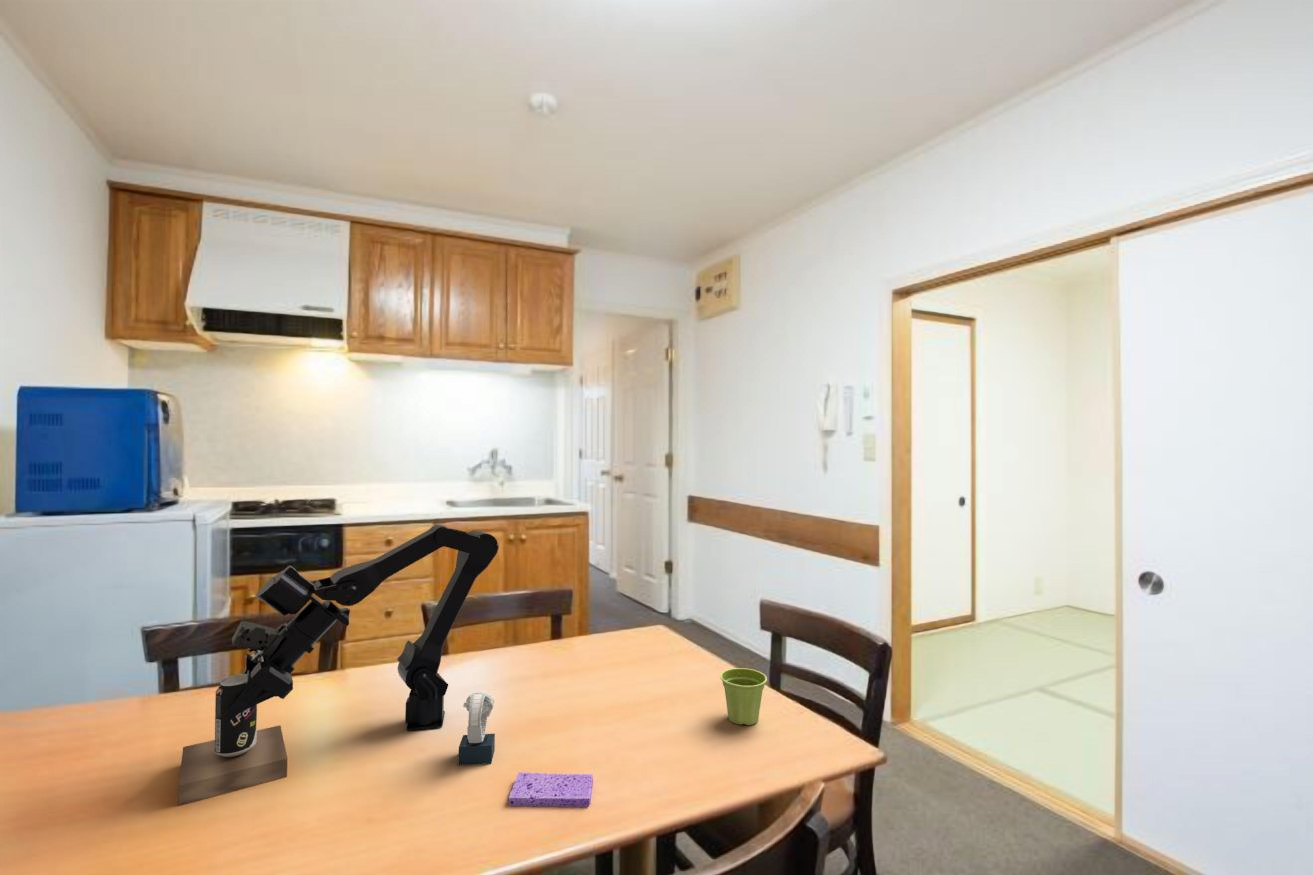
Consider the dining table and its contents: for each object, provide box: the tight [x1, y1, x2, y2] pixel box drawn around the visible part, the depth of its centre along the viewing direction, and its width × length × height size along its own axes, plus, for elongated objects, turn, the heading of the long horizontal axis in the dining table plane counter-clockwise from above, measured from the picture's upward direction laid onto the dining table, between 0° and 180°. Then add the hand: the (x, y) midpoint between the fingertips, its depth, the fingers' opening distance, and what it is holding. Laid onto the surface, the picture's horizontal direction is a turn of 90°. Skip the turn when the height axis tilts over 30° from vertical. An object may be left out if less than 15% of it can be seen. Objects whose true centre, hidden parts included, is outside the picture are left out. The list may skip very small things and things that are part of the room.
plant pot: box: [719, 667, 768, 726], centre depth 122 cm, size 9×9×9 cm
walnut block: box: [177, 724, 288, 807], centre depth 100 cm, size 14×14×3 cm
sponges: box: [508, 771, 594, 808], centre depth 95 cm, size 7×13×2 cm, turn 91°
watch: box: [457, 691, 496, 766], centre depth 105 cm, size 6×8×11 cm
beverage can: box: [214, 673, 258, 757], centre depth 100 cm, size 6×6×12 cm
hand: (226, 709), depth 99 cm, fingers closed on beverage can, 5 cm apart
